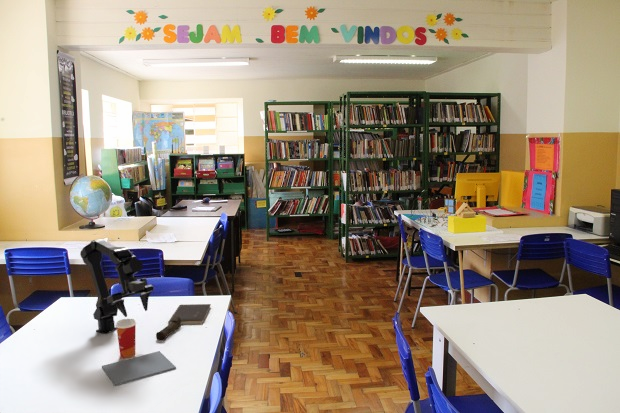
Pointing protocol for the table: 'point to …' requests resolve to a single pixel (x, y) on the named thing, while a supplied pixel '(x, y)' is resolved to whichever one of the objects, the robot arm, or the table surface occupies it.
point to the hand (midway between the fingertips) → (136, 313)
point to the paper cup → (126, 337)
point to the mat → (137, 368)
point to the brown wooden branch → (169, 329)
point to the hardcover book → (191, 313)
